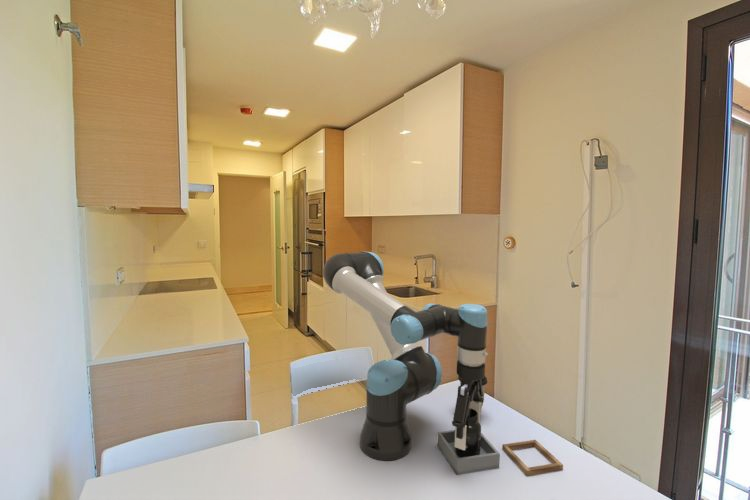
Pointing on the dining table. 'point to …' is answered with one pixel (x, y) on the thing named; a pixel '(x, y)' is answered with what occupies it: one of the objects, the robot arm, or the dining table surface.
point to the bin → (468, 464)
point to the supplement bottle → (471, 436)
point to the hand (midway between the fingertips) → (467, 435)
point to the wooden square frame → (537, 469)
